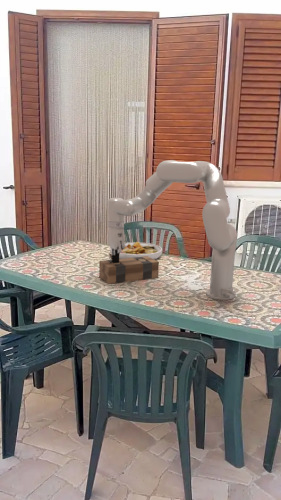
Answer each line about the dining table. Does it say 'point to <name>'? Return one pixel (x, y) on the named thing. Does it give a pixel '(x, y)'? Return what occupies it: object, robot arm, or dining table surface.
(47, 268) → the dining table surface
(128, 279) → the banded wooden block
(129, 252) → the bowl
